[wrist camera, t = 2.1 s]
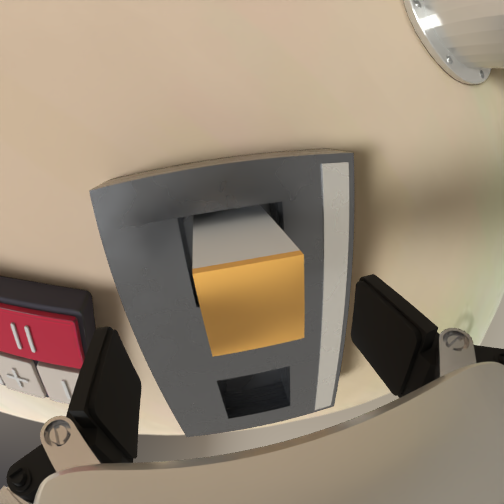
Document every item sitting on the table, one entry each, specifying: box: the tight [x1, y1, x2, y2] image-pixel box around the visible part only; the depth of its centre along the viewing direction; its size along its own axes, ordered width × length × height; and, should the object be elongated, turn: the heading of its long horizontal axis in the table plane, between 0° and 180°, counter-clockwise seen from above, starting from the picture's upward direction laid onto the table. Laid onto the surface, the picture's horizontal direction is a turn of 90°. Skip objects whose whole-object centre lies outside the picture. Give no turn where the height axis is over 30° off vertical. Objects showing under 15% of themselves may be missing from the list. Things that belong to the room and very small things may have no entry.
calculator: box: [0, 276, 96, 404], centre depth 17 cm, size 11×4×15 cm
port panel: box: [89, 149, 354, 437], centre depth 19 cm, size 14×22×4 cm, turn 6°
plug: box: [192, 205, 305, 357], centre depth 14 cm, size 4×4×8 cm
